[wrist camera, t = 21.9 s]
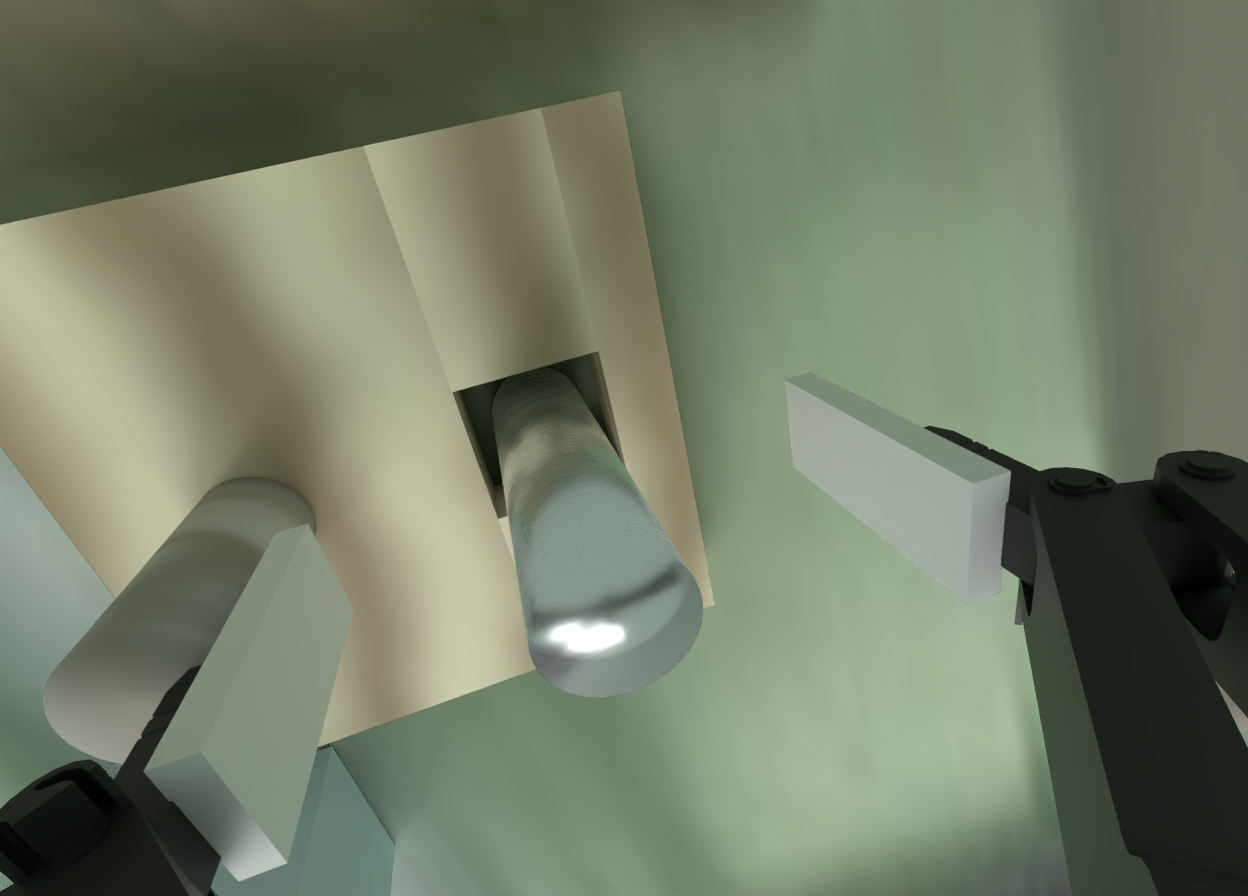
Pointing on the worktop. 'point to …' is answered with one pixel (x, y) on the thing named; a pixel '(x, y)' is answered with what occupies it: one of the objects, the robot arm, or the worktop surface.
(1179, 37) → the worktop surface
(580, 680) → the peg
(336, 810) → the block
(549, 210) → the board
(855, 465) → the robot arm
